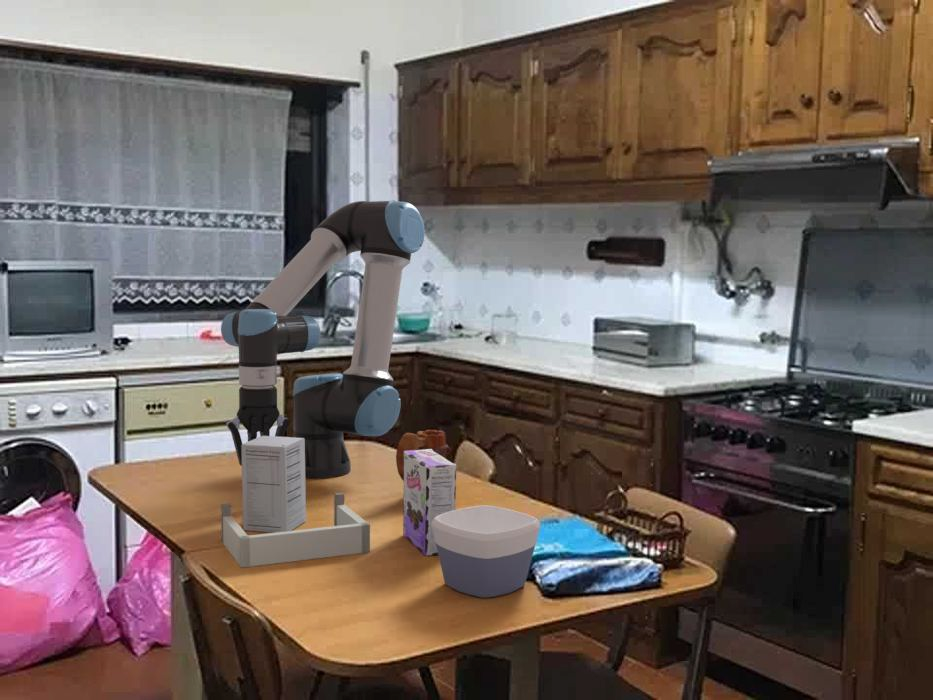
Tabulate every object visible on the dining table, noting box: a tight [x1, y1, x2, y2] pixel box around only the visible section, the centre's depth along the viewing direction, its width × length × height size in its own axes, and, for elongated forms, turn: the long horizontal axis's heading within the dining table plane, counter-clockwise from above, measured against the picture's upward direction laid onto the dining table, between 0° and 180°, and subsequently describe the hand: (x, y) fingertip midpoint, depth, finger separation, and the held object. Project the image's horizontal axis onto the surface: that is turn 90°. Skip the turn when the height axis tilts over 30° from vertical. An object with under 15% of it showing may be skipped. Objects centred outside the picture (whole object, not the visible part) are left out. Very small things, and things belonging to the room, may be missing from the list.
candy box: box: [402, 449, 457, 557], centre depth 191 cm, size 14×6×16 cm, turn 21°
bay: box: [220, 492, 371, 568], centre depth 188 cm, size 16×23×7 cm
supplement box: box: [241, 435, 307, 533], centre depth 201 cm, size 10×9×17 cm
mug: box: [395, 429, 452, 482], centre depth 222 cm, size 15×8×15 cm, turn 141°
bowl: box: [431, 504, 541, 599], centre depth 169 cm, size 15×15×11 cm
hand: (258, 500), depth 213 cm, fingers closed
